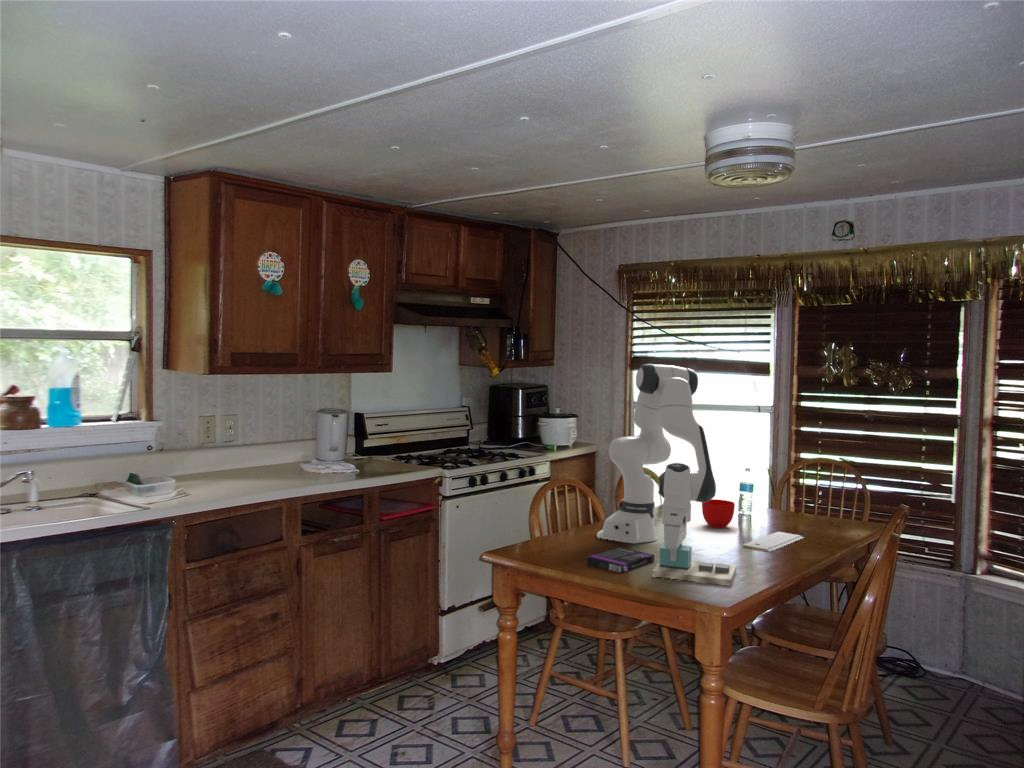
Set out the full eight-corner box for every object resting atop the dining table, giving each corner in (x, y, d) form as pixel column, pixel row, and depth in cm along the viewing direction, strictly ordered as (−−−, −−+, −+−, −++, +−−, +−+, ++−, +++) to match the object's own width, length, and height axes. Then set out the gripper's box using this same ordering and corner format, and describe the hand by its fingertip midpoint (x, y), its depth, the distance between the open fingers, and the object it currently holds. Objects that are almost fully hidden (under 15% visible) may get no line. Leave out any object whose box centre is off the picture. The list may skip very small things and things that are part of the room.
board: (651, 577, 249) (651, 570, 249) (662, 563, 266) (662, 557, 266) (730, 586, 241) (730, 579, 241) (736, 571, 257) (736, 565, 257)
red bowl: (729, 521, 335) (730, 498, 334) (736, 530, 318) (737, 505, 317) (698, 520, 336) (698, 497, 336) (703, 529, 319) (704, 504, 319)
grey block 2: (714, 571, 249) (715, 566, 249) (716, 568, 253) (716, 563, 253) (728, 573, 248) (728, 568, 248) (729, 570, 251) (729, 565, 251)
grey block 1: (698, 570, 251) (698, 565, 251) (700, 567, 255) (700, 562, 255) (711, 571, 249) (711, 566, 249) (713, 568, 253) (713, 563, 253)
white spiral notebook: (808, 540, 306) (777, 535, 314) (808, 532, 306) (778, 528, 314) (774, 554, 283) (742, 548, 291) (774, 546, 283) (742, 540, 291)
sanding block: (659, 566, 254) (660, 547, 254) (663, 561, 260) (663, 543, 260) (688, 569, 251) (688, 550, 251) (691, 564, 257) (691, 546, 257)
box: (621, 576, 253) (655, 563, 268) (621, 565, 253) (655, 553, 267) (586, 566, 263) (620, 555, 277) (586, 556, 262) (621, 545, 277)
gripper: (672, 508, 266) (671, 549, 266) (661, 519, 247) (659, 563, 247) (691, 509, 263) (690, 551, 264) (681, 521, 244) (680, 566, 245)
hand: (675, 557), depth 255 cm, fingers closed on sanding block, 6 cm apart
